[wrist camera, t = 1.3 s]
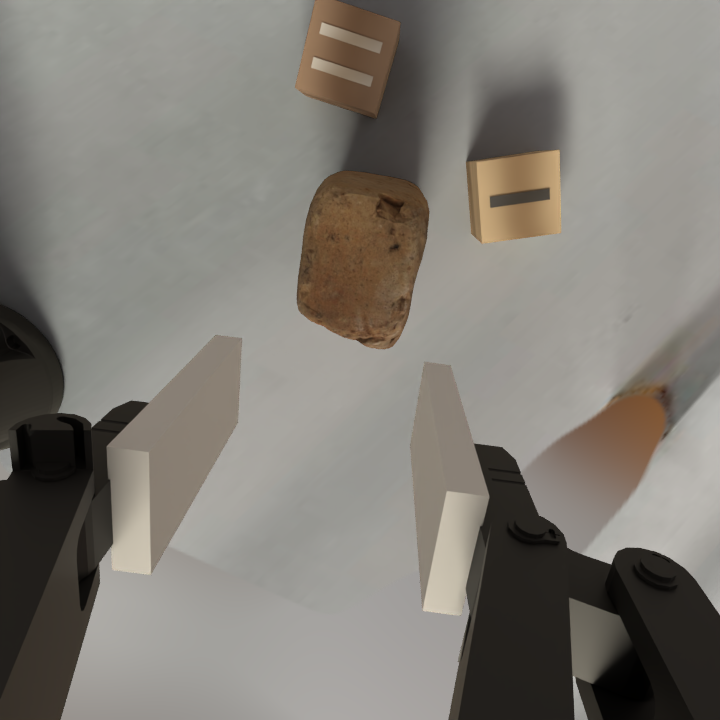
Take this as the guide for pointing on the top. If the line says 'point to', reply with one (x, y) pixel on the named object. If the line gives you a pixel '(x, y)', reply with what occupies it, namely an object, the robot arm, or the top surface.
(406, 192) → the block
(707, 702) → the robot arm
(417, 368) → the top surface
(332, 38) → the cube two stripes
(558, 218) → the cube one stripe
